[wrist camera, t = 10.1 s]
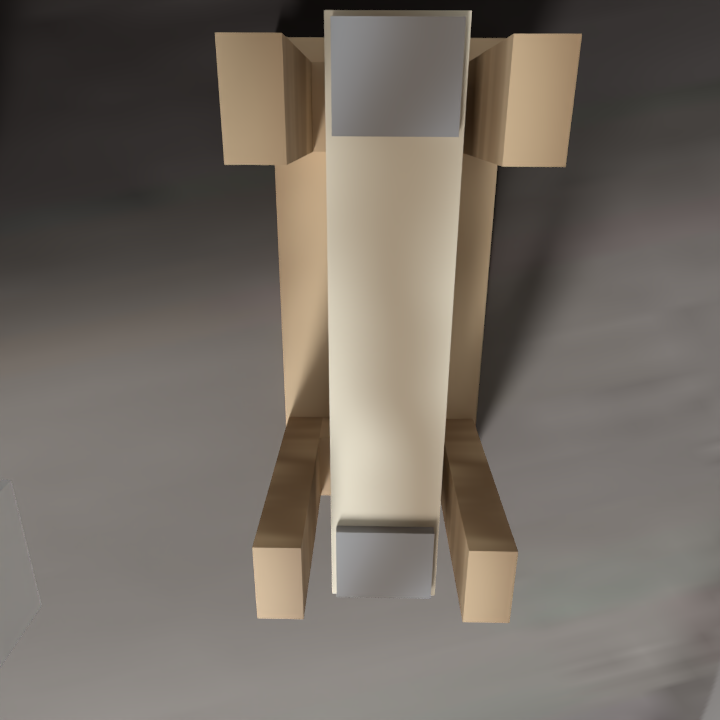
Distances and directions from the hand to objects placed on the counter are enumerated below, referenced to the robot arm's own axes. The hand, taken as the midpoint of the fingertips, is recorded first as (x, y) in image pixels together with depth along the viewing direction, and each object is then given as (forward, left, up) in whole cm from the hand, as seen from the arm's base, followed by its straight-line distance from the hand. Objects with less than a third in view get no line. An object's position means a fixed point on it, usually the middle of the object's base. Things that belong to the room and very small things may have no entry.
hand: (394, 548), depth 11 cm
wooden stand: (0, 0, -18) cm, 18 cm away
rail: (0, 0, -15) cm, 15 cm away
